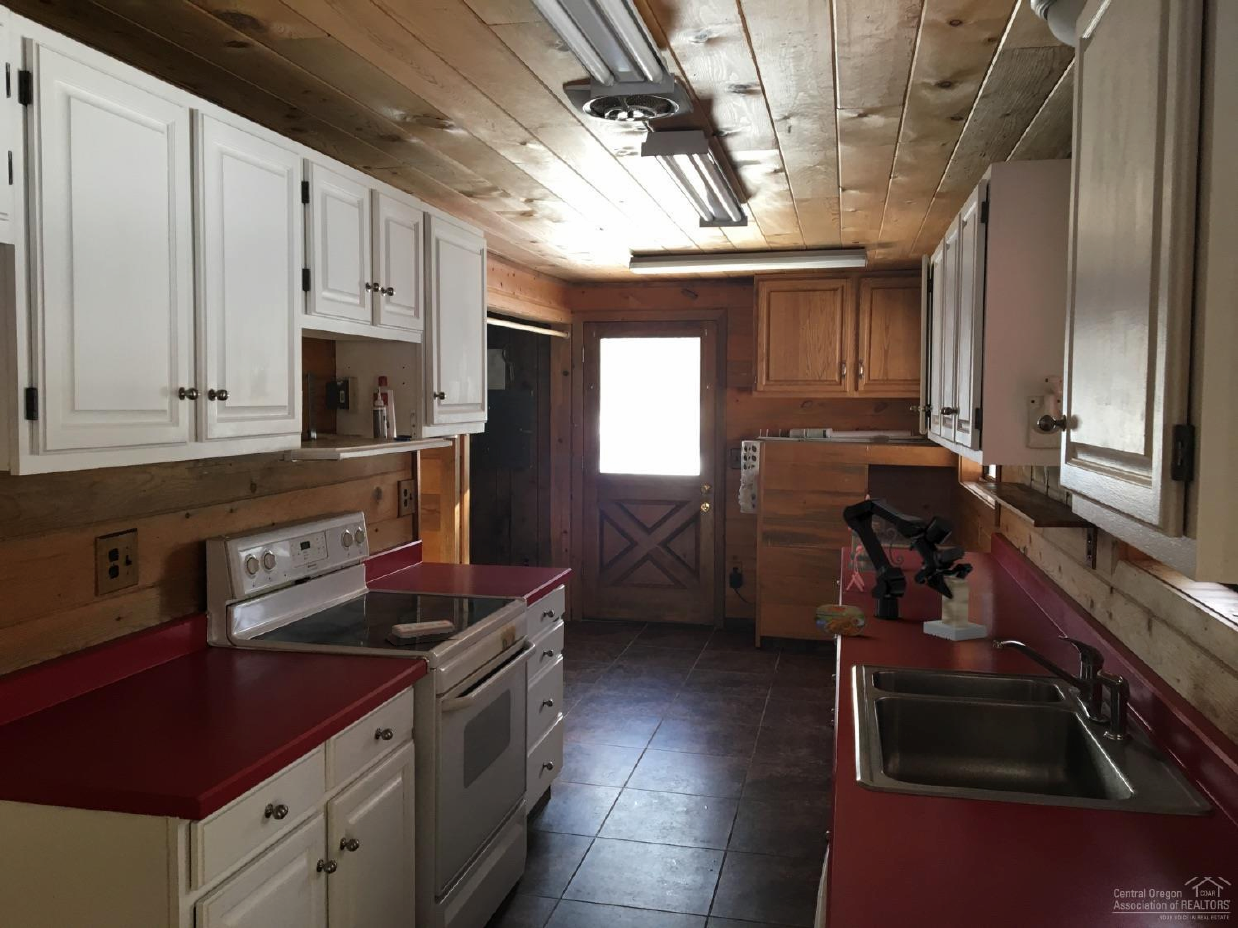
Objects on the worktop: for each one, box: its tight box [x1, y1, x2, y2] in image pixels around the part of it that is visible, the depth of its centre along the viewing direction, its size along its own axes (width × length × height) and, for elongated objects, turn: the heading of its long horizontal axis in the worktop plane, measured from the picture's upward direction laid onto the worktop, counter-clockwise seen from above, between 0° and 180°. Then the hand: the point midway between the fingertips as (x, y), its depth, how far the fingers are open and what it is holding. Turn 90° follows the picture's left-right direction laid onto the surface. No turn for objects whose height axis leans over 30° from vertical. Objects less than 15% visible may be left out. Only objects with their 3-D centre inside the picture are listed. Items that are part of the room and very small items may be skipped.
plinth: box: [923, 619, 988, 642], centre depth 272 cm, size 12×12×3 cm
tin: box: [813, 604, 868, 637], centre depth 273 cm, size 15×3×8 cm, turn 62°
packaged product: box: [391, 619, 456, 638], centre depth 264 cm, size 18×5×10 cm
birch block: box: [941, 577, 970, 627], centre depth 271 cm, size 5×5×13 cm
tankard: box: [846, 520, 905, 571], centre depth 392 cm, size 24×17×20 cm
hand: (959, 597), depth 270 cm, fingers open, 6 cm apart
